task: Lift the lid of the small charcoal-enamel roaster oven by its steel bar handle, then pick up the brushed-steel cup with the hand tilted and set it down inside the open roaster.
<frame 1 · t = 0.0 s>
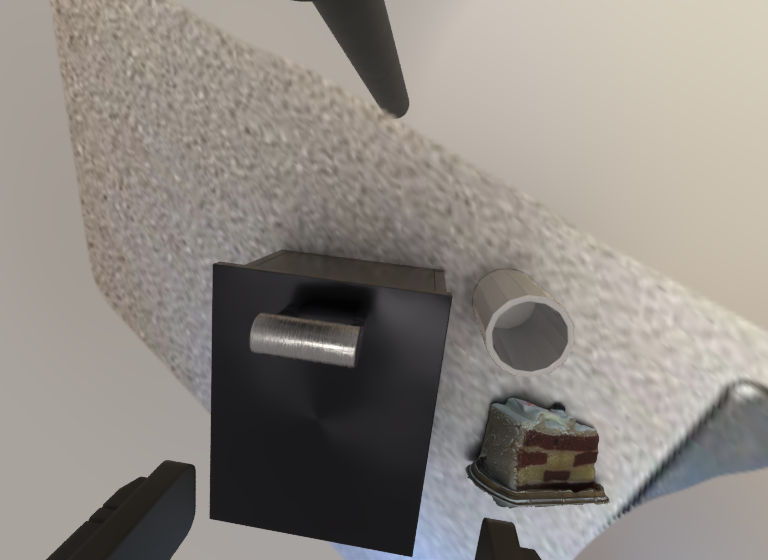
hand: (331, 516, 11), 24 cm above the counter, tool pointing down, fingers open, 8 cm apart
cup: (505, 300, 33), on the counter
roaster: (352, 353, 36), on the counter
oven lid: (309, 437, 23), point 13 cm above the counter, hinge at 0.0°
chocolate cake: (539, 434, 36), on the counter
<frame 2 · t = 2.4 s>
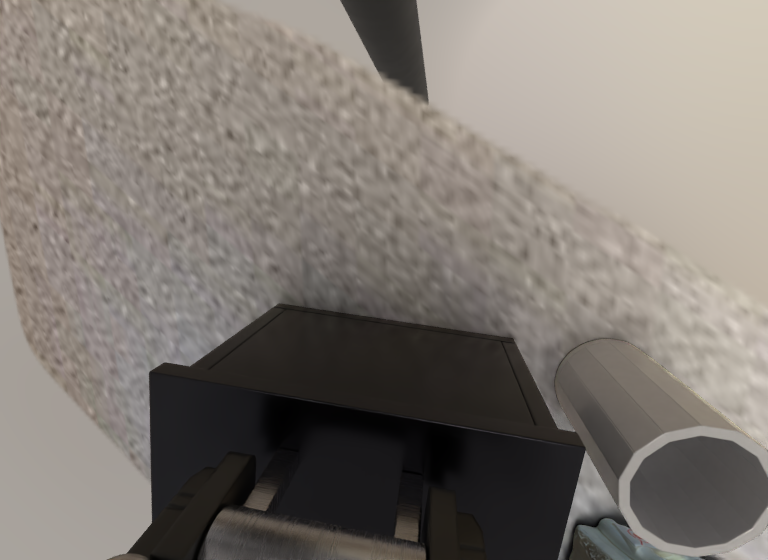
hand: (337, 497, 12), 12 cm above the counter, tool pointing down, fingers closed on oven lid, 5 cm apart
cup: (603, 383, 23), on the counter
roaster: (377, 447, 25), on the counter
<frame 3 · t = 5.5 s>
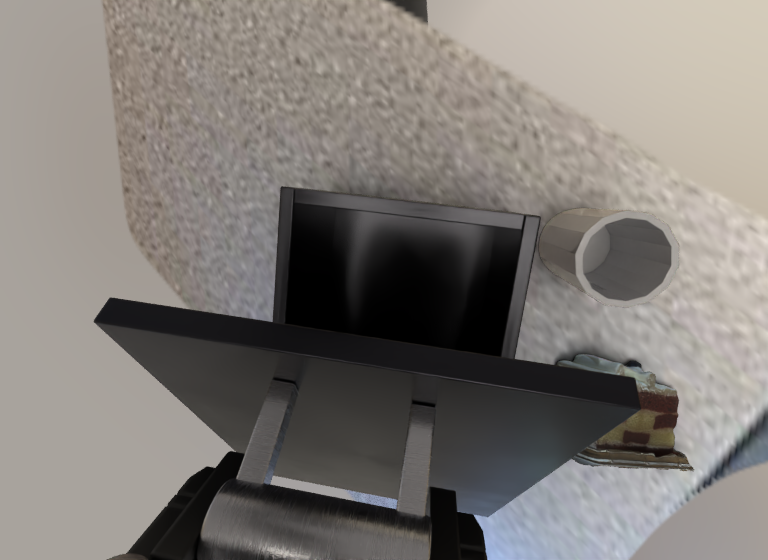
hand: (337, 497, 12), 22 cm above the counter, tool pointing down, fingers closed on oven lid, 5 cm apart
cup: (575, 244, 30), on the counter
roaster: (403, 305, 33), on the counter
oven lid: (353, 507, 16), point 18 cm above the counter, hinge at 41.8°, touching gripper
chocolate cake: (610, 396, 32), on the counter
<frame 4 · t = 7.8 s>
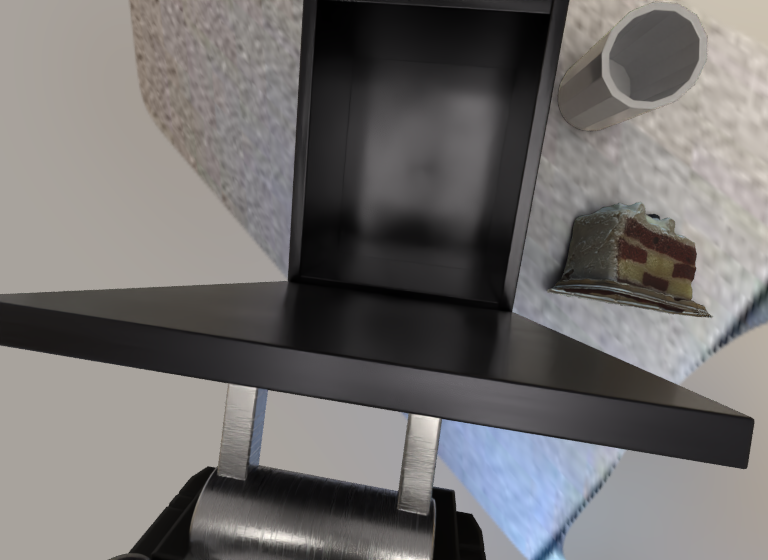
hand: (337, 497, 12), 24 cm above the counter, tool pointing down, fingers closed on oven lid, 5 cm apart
cup: (594, 93, 30), on the counter
roaster: (420, 168, 33), on the counter
oven lid: (369, 378, 16), point 20 cm above the counter, hinge at 78.6°, touching gripper
chocolate cake: (627, 256, 32), on the counter
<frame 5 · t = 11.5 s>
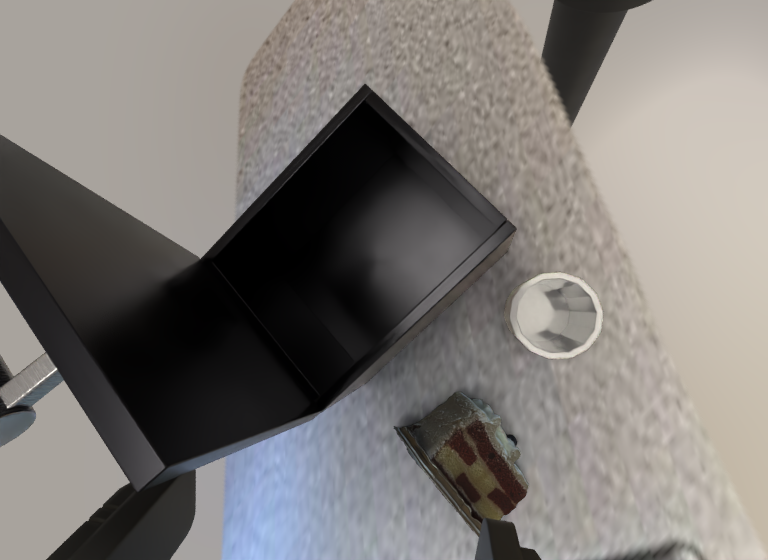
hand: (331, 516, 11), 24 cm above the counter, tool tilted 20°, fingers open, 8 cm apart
cup: (537, 312, 33), on the counter
roaster: (381, 262, 36), on the counter
oven lid: (141, 346, 18), point 20 cm above the counter, hinge at 74.5°, touching gripper
chocolate cake: (475, 453, 34), on the counter
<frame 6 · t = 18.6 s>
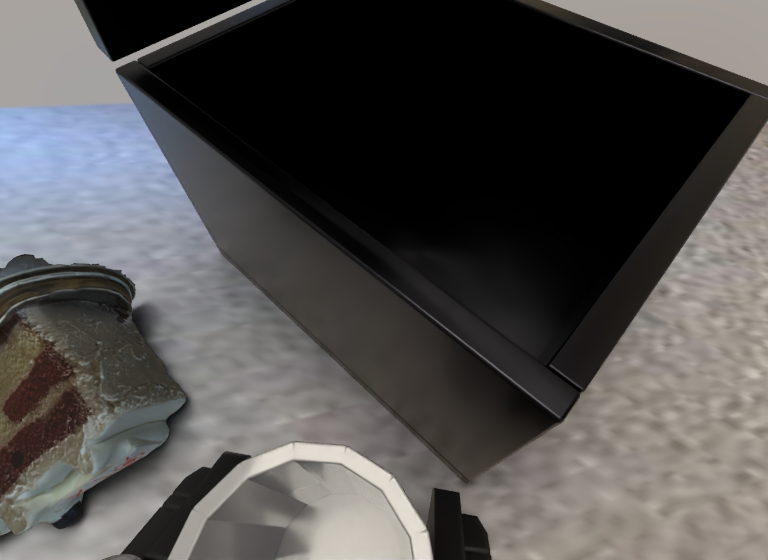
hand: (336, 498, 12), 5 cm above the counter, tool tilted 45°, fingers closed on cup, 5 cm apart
roaster: (418, 262, 22), on the counter
chocolate cake: (64, 443, 17), on the counter
when the fingers open (8 cm above the counter, at t = 28.0 s): cup drops 3 cm, resting on roaster.
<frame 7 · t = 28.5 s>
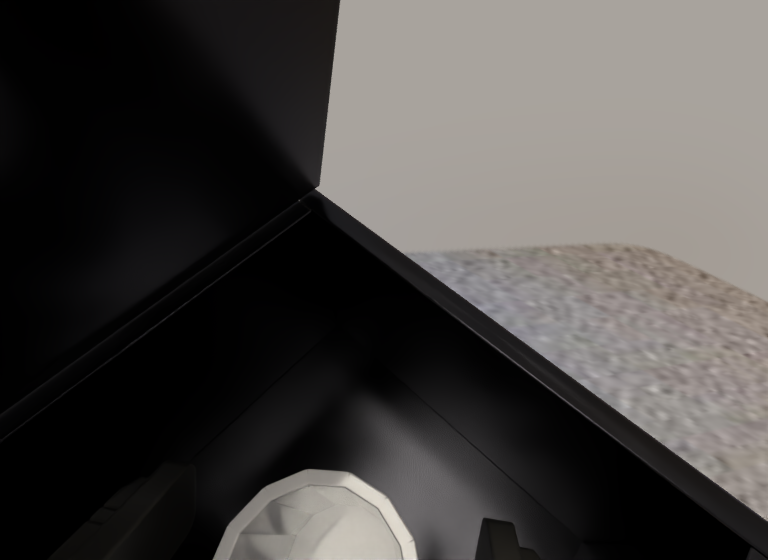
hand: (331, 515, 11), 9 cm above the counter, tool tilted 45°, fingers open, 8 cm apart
roaster: (358, 523, 18), on the counter
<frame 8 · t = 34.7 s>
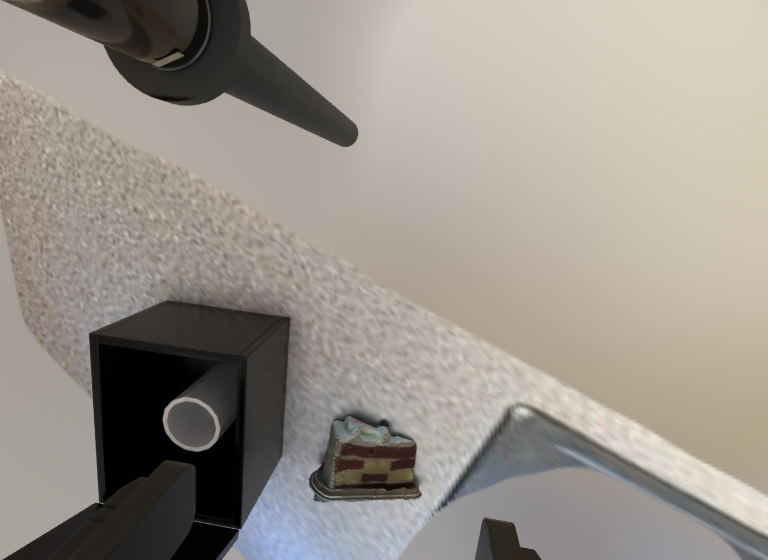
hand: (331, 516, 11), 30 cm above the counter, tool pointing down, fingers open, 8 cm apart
cup: (236, 380, 44), point 1 cm above the counter, touching roaster
roaster: (226, 380, 45), on the counter
chocolate cake: (374, 444, 45), on the counter
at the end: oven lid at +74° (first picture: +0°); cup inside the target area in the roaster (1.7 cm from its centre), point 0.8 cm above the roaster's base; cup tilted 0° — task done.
